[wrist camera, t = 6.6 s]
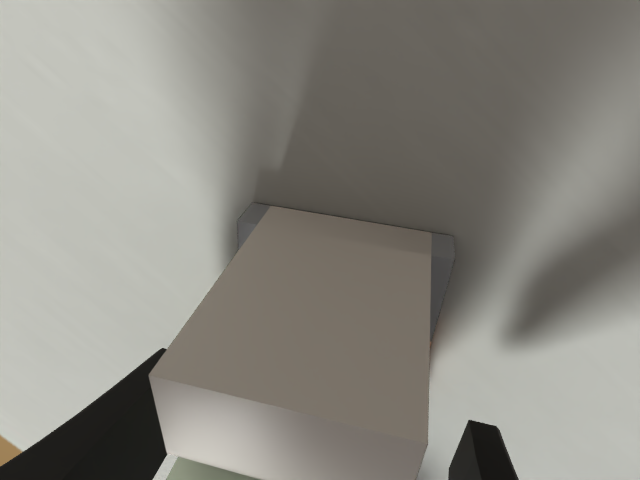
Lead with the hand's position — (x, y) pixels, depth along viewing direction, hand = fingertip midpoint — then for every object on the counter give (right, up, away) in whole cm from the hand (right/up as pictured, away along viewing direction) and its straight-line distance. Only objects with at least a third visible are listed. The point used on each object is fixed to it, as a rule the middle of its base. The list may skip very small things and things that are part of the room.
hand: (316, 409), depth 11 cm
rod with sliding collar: (0, -2, +4) cm, 4 cm away
